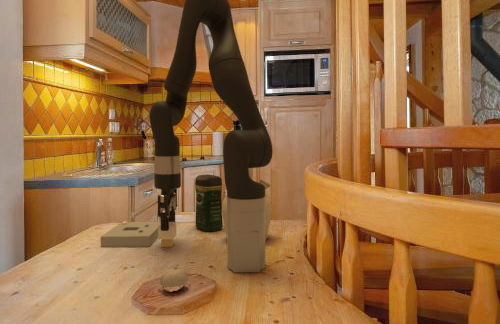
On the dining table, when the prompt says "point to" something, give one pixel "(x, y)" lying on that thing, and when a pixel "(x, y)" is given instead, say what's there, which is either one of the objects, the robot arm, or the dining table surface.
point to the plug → (167, 235)
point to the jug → (267, 206)
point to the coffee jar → (208, 202)
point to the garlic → (174, 277)
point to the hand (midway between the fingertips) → (168, 226)
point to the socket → (131, 234)
